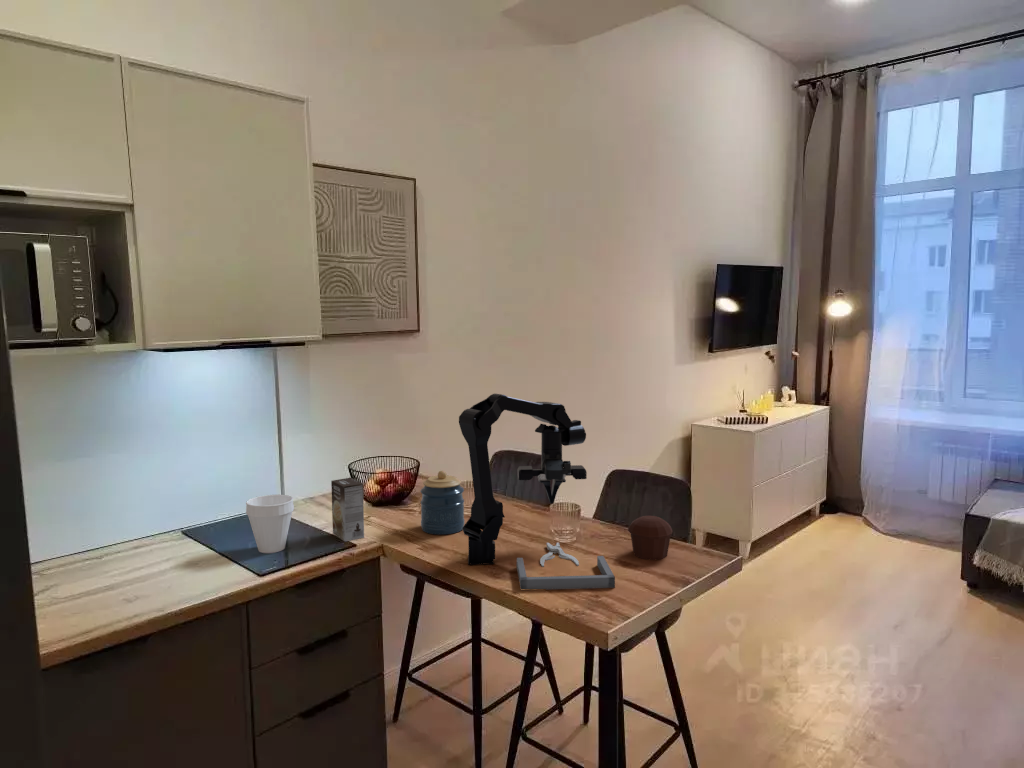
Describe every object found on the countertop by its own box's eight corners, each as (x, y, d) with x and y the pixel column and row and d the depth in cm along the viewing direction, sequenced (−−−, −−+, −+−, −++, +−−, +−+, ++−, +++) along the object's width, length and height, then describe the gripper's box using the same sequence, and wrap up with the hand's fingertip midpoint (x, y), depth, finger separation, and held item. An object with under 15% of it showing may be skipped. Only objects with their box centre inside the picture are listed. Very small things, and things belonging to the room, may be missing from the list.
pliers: (541, 562, 173) (534, 542, 188) (541, 568, 173) (534, 548, 188) (579, 561, 174) (570, 541, 189) (579, 567, 174) (570, 547, 189)
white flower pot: (291, 539, 196) (290, 492, 194) (298, 552, 185) (296, 502, 183) (245, 545, 190) (243, 497, 189) (249, 559, 179) (247, 508, 178)
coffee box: (331, 534, 200) (330, 480, 199) (352, 529, 204) (350, 477, 203) (344, 542, 193) (342, 486, 191) (365, 537, 197) (364, 482, 195)
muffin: (667, 547, 188) (668, 511, 187) (676, 561, 177) (677, 523, 176) (624, 547, 188) (624, 511, 187) (630, 561, 177) (631, 523, 176)
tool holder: (520, 590, 158) (520, 579, 158) (516, 567, 173) (516, 557, 173) (614, 587, 160) (614, 577, 160) (603, 565, 174) (603, 555, 174)
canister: (416, 534, 199) (415, 475, 198) (426, 521, 212) (425, 465, 211) (460, 536, 198) (459, 476, 196) (468, 522, 211) (467, 466, 209)
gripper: (520, 453, 181) (520, 511, 182) (590, 453, 182) (589, 510, 183) (517, 446, 192) (517, 500, 193) (583, 445, 193) (583, 499, 194)
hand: (551, 503), depth 191 cm, fingers closed
